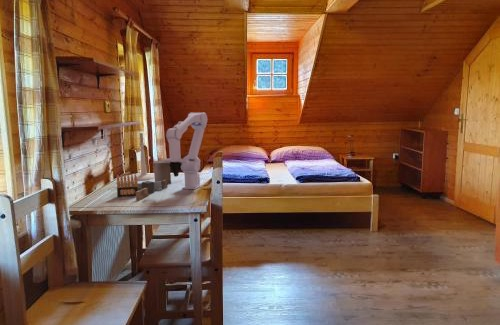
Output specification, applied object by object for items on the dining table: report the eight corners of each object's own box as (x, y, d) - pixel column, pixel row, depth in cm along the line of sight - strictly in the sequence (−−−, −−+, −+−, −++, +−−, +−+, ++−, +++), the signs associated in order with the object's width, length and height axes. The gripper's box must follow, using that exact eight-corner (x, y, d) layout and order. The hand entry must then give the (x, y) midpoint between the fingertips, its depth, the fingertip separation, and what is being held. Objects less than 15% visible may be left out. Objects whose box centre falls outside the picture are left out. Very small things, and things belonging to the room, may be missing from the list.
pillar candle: (173, 181, 235) (171, 157, 232) (168, 185, 225) (166, 160, 223) (157, 182, 236) (156, 158, 233) (152, 185, 226) (150, 160, 224)
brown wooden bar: (165, 187, 220) (164, 178, 219) (167, 187, 220) (166, 178, 219) (136, 200, 192) (135, 190, 191) (138, 200, 191) (138, 191, 190)
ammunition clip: (117, 197, 199) (115, 174, 197) (117, 196, 201) (116, 174, 199) (138, 196, 201) (136, 173, 199) (138, 195, 203) (137, 173, 201)
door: (161, 188, 216) (160, 181, 216) (161, 188, 215) (161, 181, 215) (132, 190, 211) (131, 183, 210) (132, 191, 210) (132, 184, 209)
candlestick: (136, 181, 239) (132, 133, 234) (132, 177, 250) (128, 132, 245) (156, 179, 245) (153, 132, 240) (151, 175, 256) (148, 131, 251)
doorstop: (154, 192, 208) (153, 181, 207) (148, 194, 205) (148, 183, 204) (144, 190, 212) (143, 180, 211) (138, 192, 209) (138, 181, 208)
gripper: (158, 151, 200) (160, 177, 202) (184, 152, 196) (185, 178, 198) (165, 150, 206) (166, 174, 208) (189, 150, 202) (191, 175, 204)
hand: (176, 176), depth 204 cm, fingers closed
